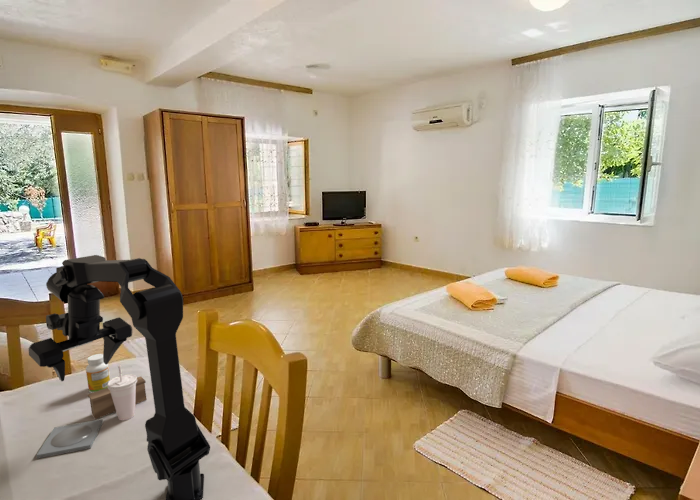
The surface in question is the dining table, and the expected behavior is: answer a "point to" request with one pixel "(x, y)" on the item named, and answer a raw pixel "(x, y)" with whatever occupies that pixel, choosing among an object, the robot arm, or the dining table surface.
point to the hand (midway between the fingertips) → (84, 371)
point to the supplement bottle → (97, 373)
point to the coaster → (70, 438)
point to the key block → (104, 402)
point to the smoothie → (123, 394)
